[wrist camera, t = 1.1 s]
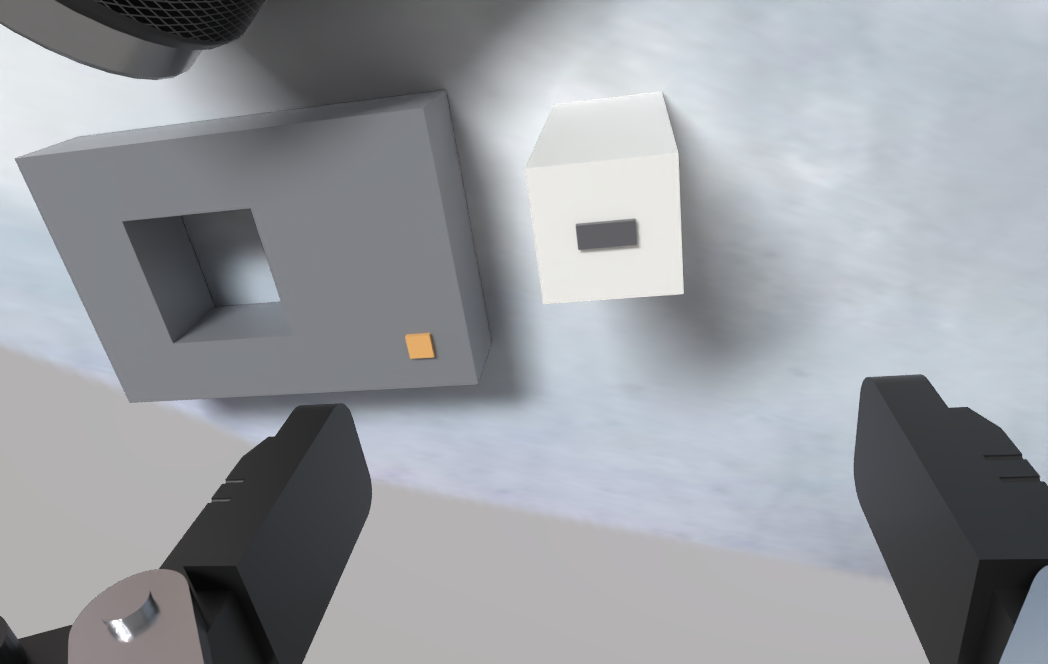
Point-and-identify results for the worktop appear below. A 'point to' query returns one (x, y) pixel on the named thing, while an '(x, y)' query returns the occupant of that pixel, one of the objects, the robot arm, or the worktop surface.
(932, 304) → the worktop surface
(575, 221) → the block
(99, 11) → the muzzle brake
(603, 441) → the worktop surface
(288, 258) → the outlet block
